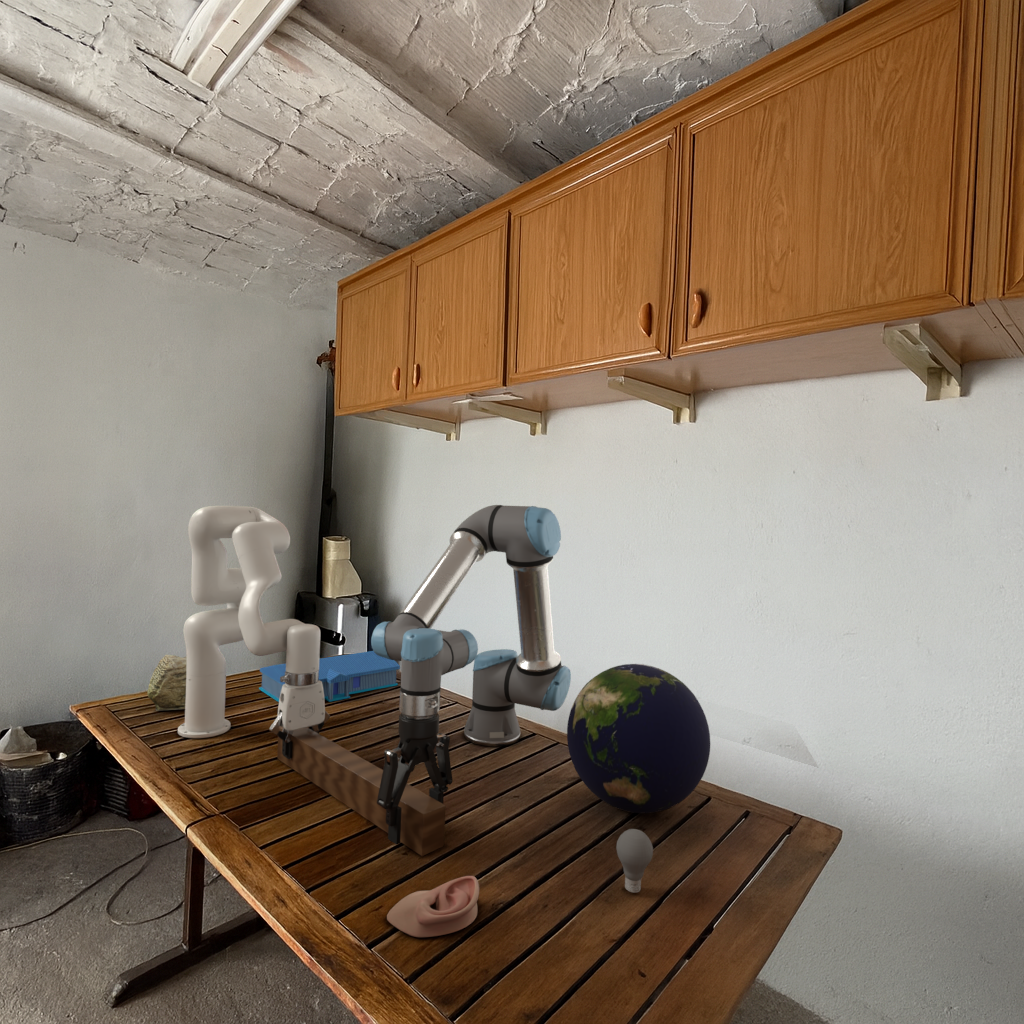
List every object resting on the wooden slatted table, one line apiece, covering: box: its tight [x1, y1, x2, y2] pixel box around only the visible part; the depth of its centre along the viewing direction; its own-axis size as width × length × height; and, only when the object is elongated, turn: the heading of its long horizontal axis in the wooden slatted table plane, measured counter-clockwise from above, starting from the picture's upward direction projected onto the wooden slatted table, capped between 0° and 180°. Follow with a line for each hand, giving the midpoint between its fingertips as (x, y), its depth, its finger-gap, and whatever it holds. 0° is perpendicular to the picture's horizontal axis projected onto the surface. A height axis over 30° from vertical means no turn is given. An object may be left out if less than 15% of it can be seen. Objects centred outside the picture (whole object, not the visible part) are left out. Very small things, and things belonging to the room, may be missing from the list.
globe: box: [566, 663, 711, 814], centre depth 135 cm, size 30×30×30 cm
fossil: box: [147, 654, 187, 712], centre depth 185 cm, size 9×18×15 cm, turn 132°
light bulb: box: [615, 828, 654, 894], centre depth 106 cm, size 6×6×10 cm
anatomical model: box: [386, 875, 480, 938], centre depth 98 cm, size 13×4×12 cm
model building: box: [258, 650, 401, 703], centre depth 208 cm, size 39×24×10 cm, turn 132°
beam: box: [276, 726, 446, 857], centre depth 134 cm, size 56×5×8 cm, turn 46°
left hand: (299, 753), depth 150 cm, fingers closed on beam, 5 cm apart
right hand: (414, 832), depth 119 cm, fingers open, 9 cm apart
